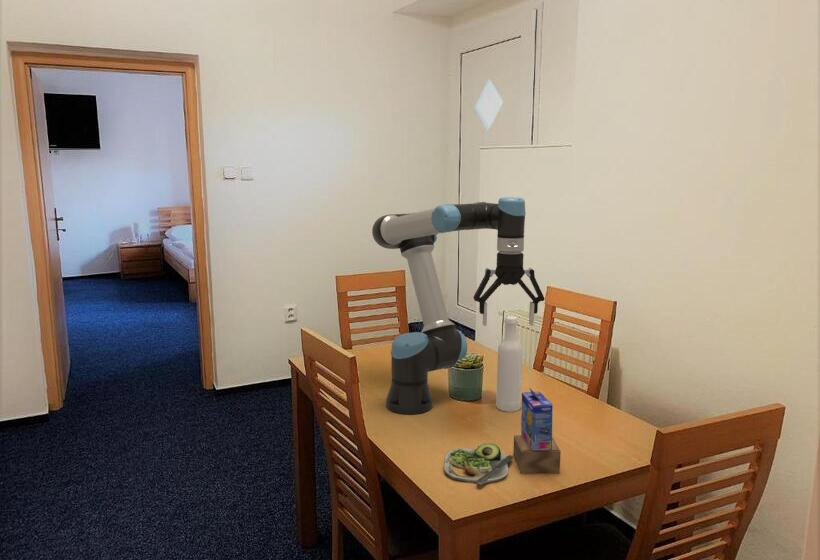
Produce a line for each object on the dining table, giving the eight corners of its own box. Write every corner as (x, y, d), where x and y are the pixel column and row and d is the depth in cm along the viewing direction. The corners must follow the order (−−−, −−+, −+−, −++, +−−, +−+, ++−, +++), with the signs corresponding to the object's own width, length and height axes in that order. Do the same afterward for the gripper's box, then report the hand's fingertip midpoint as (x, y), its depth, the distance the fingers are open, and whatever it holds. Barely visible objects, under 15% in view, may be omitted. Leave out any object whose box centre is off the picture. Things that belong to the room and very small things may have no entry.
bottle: (525, 410, 206) (528, 319, 200) (502, 413, 203) (505, 321, 198) (513, 401, 213) (516, 313, 208) (492, 404, 211) (494, 315, 206)
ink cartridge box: (519, 435, 172) (521, 383, 169) (539, 434, 173) (541, 382, 170) (531, 451, 162) (533, 396, 160) (552, 450, 163) (555, 395, 161)
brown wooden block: (520, 473, 164) (521, 450, 163) (513, 456, 174) (514, 434, 173) (559, 473, 164) (560, 450, 163) (550, 455, 174) (551, 434, 173)
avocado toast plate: (512, 493, 155) (513, 475, 154) (439, 487, 158) (439, 469, 157) (512, 457, 174) (513, 441, 173) (447, 452, 177) (447, 436, 176)
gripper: (468, 254, 179) (466, 328, 183) (557, 253, 180) (553, 327, 183) (465, 250, 186) (463, 321, 190) (550, 250, 187) (547, 321, 191)
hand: (507, 324), depth 187 cm, fingers open, 13 cm apart
